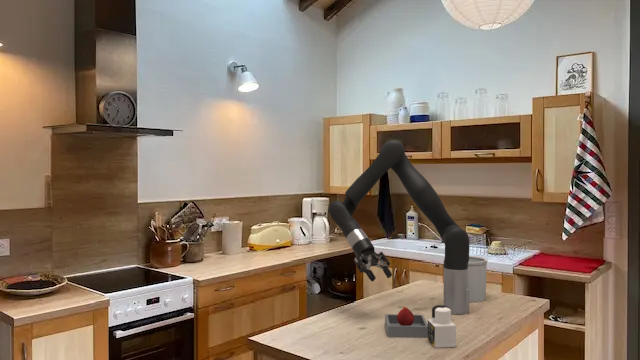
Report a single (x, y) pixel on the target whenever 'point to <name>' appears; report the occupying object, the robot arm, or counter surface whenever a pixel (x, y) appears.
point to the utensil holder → (477, 278)
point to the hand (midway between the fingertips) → (382, 278)
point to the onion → (405, 317)
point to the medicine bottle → (441, 328)
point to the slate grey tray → (406, 327)
